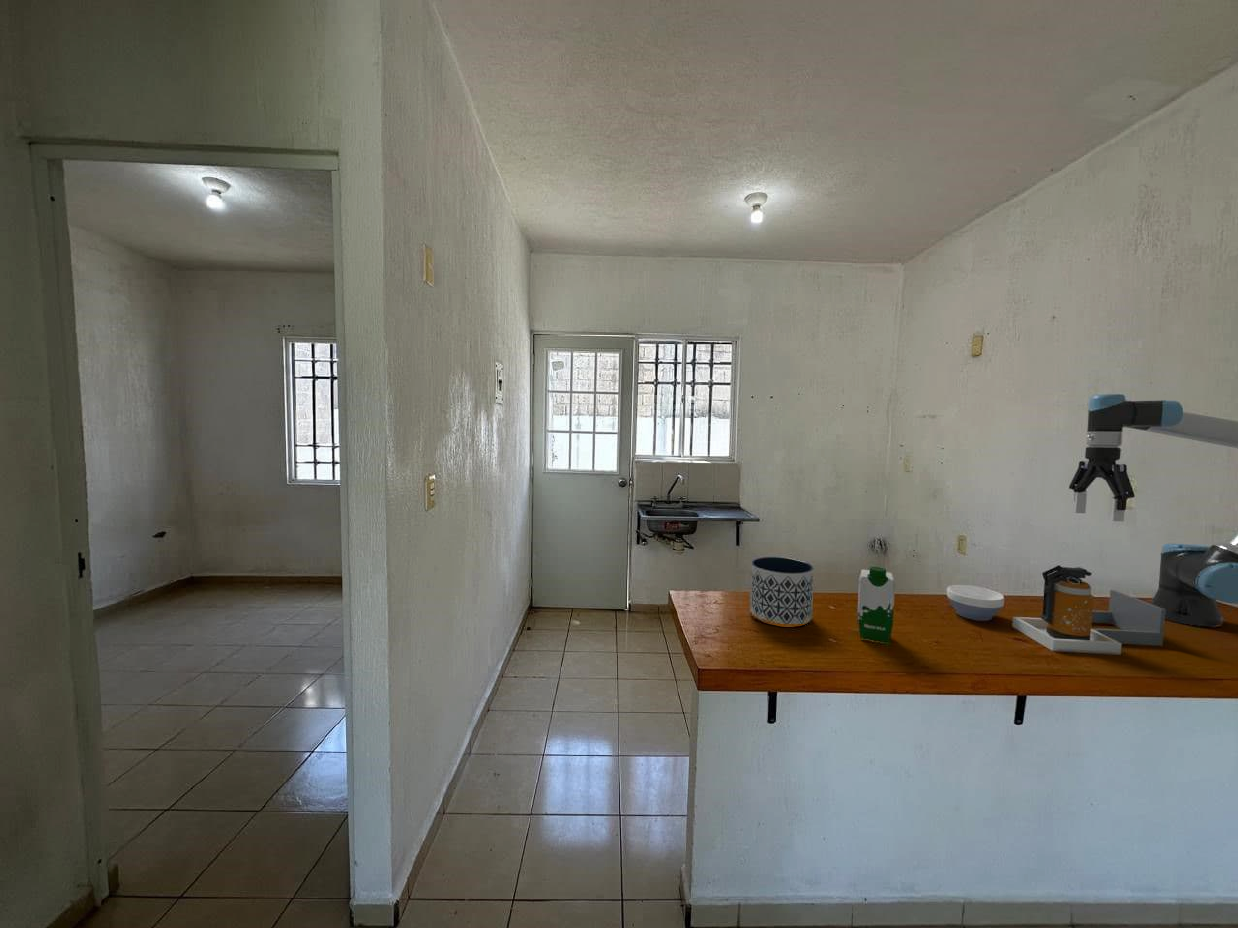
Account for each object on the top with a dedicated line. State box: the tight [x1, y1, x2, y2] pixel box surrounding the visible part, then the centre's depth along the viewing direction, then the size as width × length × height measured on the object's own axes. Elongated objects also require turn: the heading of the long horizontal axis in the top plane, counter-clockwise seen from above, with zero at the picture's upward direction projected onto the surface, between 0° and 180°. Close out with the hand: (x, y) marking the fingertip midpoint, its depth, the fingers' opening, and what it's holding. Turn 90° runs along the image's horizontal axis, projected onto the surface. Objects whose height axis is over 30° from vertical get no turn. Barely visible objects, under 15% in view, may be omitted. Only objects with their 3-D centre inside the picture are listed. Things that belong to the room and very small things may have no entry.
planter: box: [749, 556, 815, 625], centre depth 152 cm, size 18×18×16 cm
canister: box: [1039, 565, 1094, 640], centre depth 136 cm, size 9×11×20 cm
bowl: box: [946, 584, 1005, 622], centre depth 154 cm, size 14×14×8 cm
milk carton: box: [857, 566, 896, 644], centre depth 137 cm, size 9×9×20 cm
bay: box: [1091, 589, 1166, 646], centre depth 142 cm, size 16×16×10 cm
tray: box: [1012, 616, 1123, 656], centre depth 137 cm, size 16×16×3 cm
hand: (1097, 517), depth 150 cm, fingers open, 13 cm apart
